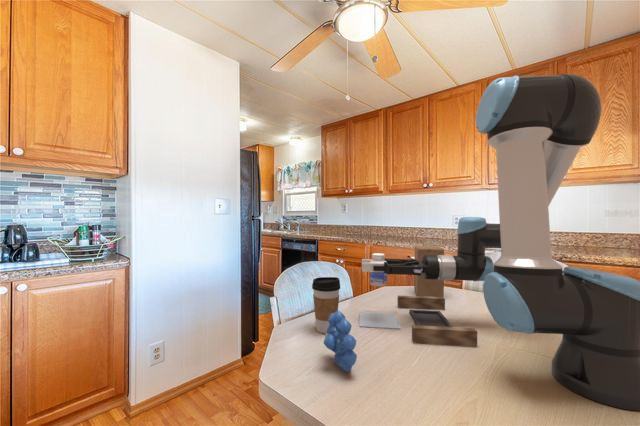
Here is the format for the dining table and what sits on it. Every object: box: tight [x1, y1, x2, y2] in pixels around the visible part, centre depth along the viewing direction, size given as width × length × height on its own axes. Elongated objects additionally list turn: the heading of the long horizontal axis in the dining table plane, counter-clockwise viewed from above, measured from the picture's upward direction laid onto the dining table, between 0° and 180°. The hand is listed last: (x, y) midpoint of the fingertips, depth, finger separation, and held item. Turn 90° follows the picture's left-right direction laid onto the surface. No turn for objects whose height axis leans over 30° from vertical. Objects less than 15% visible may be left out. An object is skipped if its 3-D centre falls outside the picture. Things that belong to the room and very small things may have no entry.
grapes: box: [323, 310, 358, 373], centre depth 65 cm, size 12×7×12 cm, turn 22°
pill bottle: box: [369, 252, 388, 287], centre depth 91 cm, size 5×5×10 cm
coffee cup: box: [311, 276, 341, 334], centre depth 85 cm, size 8×8×15 cm
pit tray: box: [408, 309, 454, 327], centre depth 90 cm, size 10×16×1 cm, turn 173°
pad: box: [358, 311, 401, 330], centre depth 92 cm, size 12×12×1 cm
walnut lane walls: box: [397, 295, 478, 348], centre depth 90 cm, size 16×29×4 cm, turn 173°
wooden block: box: [413, 245, 445, 298], centre depth 118 cm, size 10×10×20 cm
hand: (362, 265), depth 92 cm, fingers closed on pill bottle, 5 cm apart
